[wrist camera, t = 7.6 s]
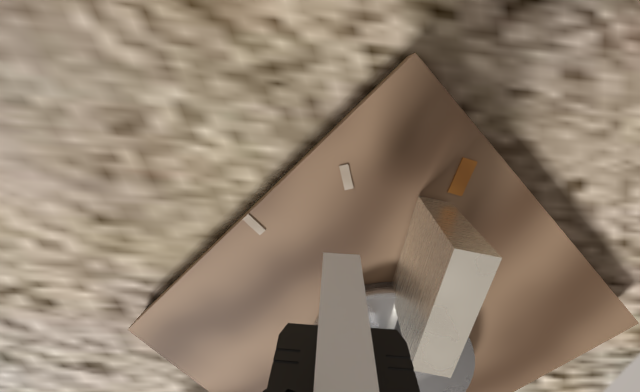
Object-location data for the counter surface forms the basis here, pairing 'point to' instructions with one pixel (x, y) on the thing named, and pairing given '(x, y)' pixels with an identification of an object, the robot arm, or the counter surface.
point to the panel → (384, 248)
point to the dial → (436, 294)
